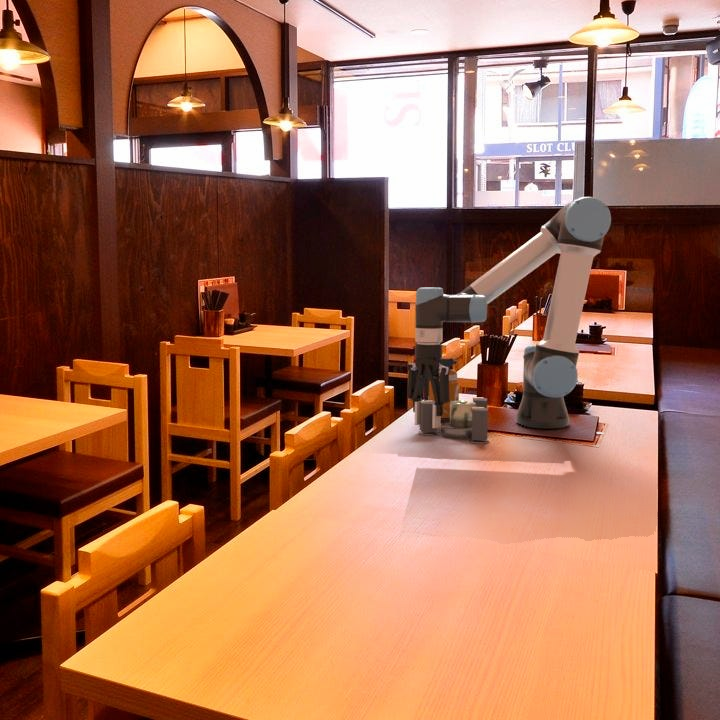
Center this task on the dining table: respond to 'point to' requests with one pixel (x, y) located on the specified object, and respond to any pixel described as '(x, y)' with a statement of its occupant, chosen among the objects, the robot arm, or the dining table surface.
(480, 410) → the gray rectangular block
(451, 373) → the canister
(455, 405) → the tribrach
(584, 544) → the dining table surface
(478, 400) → the knob
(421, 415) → the grey upright block
